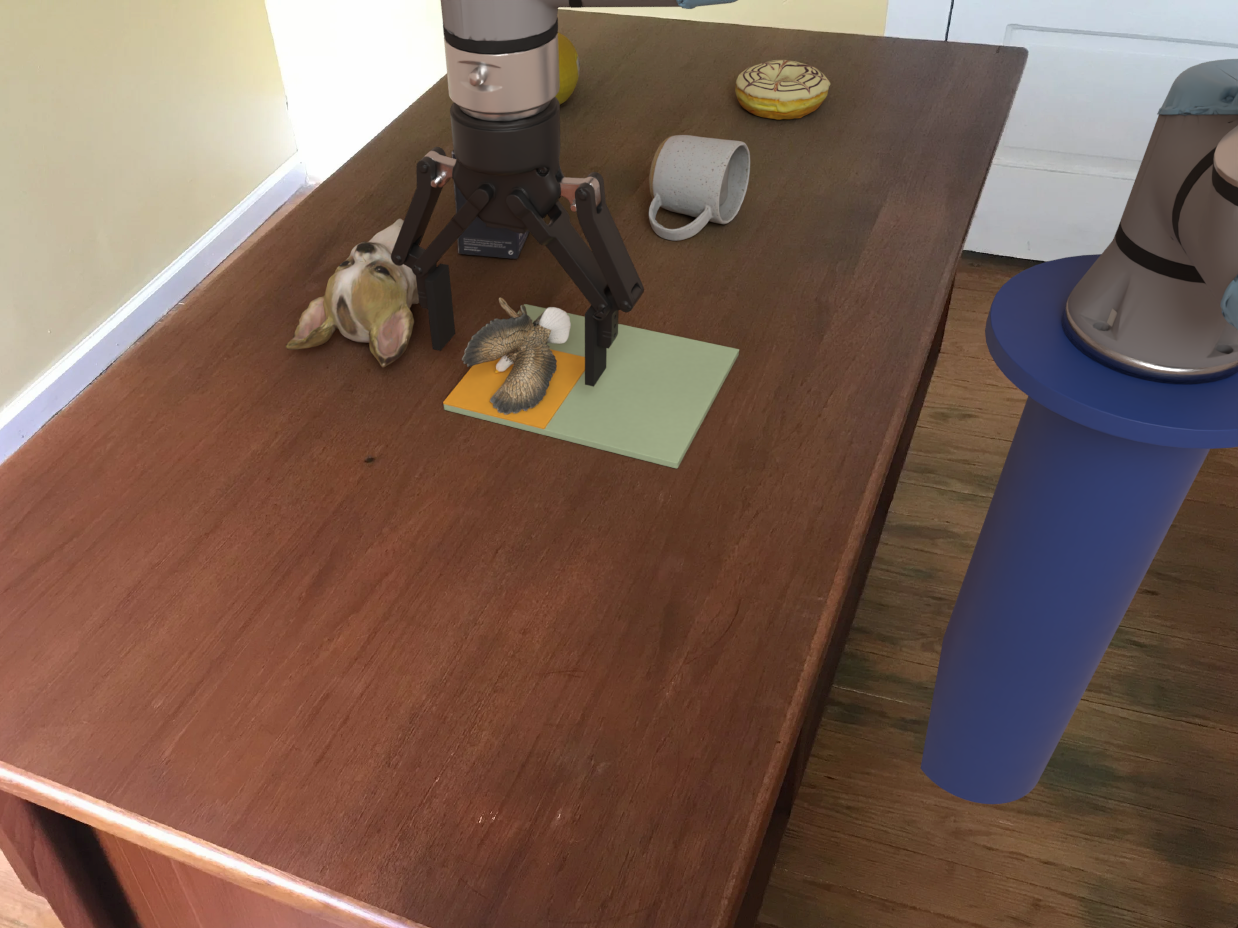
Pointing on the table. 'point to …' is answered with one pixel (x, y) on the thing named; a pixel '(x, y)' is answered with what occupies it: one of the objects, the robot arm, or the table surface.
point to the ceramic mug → (698, 182)
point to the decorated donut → (781, 89)
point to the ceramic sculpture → (364, 301)
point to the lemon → (567, 68)
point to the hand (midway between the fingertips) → (518, 358)
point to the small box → (487, 236)
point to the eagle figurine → (520, 354)
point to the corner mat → (613, 393)
